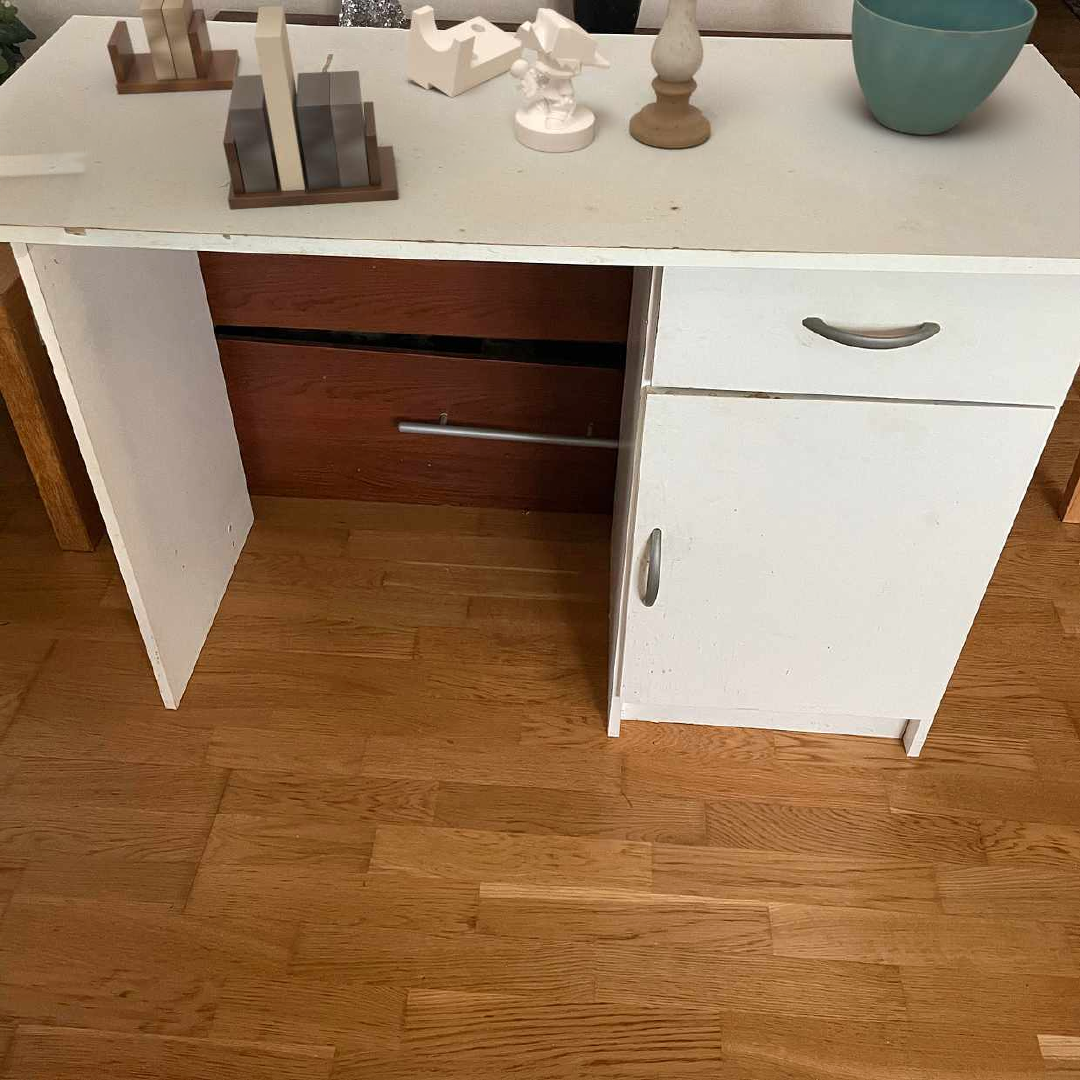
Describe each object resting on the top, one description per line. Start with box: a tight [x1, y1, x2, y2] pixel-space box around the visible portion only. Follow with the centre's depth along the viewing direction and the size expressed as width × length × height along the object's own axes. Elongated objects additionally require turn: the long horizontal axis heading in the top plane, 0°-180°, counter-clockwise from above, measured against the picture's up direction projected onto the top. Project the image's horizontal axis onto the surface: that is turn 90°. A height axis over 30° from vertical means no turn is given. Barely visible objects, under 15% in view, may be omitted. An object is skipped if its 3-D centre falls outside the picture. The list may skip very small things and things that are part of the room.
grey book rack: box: [222, 70, 399, 210], centre depth 98 cm, size 16×10×9 cm, turn 99°
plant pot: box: [851, 0, 1038, 136], centre depth 109 cm, size 18×18×12 cm
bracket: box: [404, 4, 524, 98], centre depth 119 cm, size 13×7×8 cm, turn 144°
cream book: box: [254, 5, 306, 191], centre depth 95 cm, size 2×8×14 cm, turn 9°
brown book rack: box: [106, 0, 240, 95], centre depth 117 cm, size 13×10×9 cm
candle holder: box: [628, 0, 712, 149], centre depth 103 cm, size 9×9×20 cm
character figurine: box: [510, 7, 611, 153], centre depth 105 cm, size 9×10×12 cm
